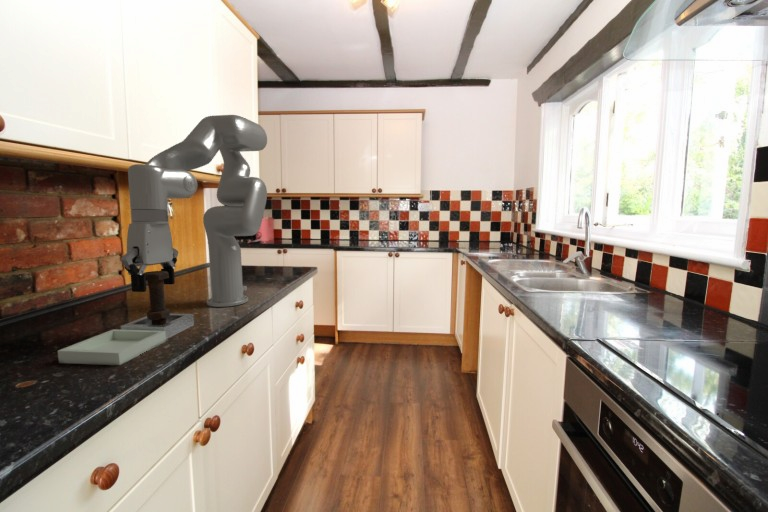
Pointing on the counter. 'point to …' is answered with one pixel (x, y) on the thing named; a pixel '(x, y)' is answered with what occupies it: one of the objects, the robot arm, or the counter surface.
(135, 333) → the tray
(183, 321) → the grey notched slab
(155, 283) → the bolt
